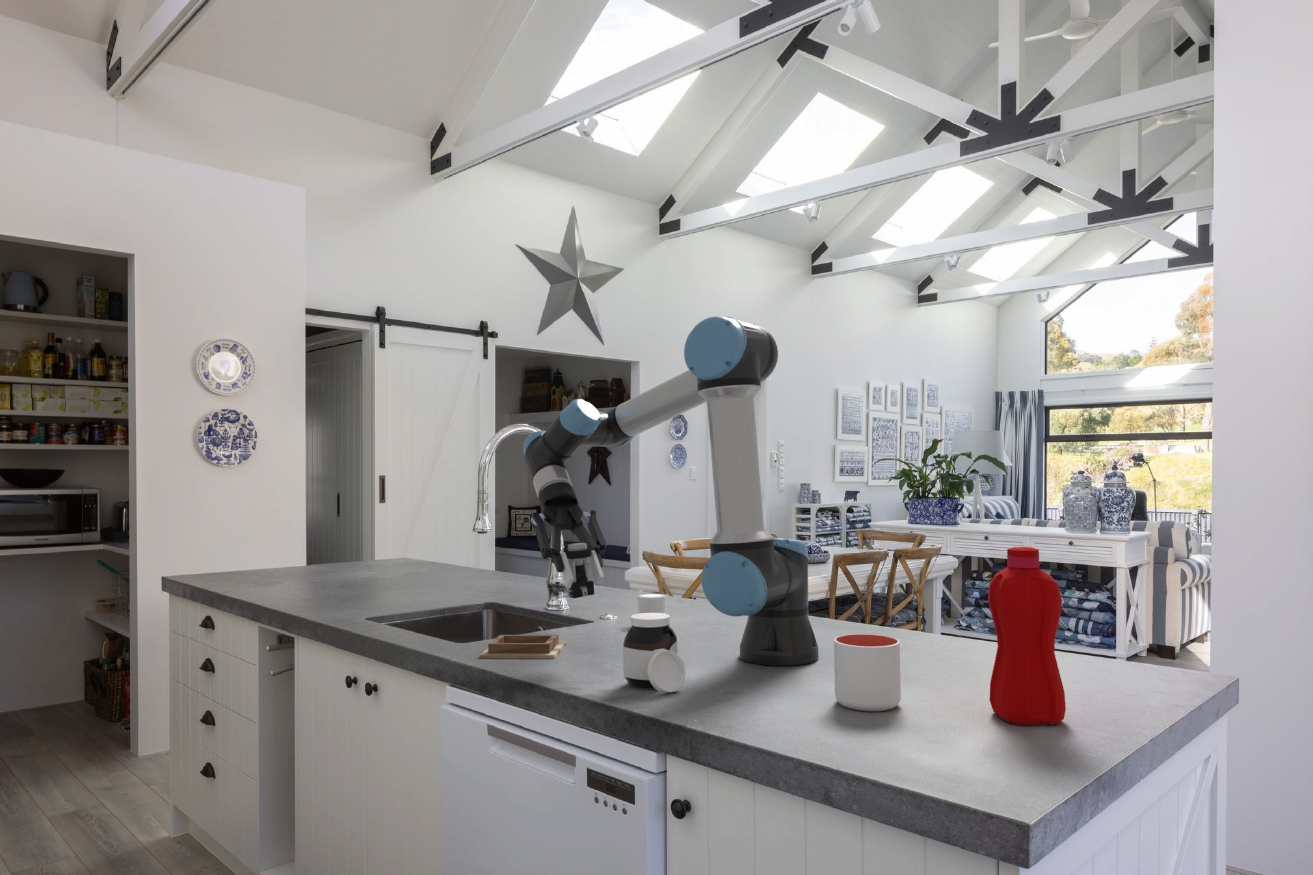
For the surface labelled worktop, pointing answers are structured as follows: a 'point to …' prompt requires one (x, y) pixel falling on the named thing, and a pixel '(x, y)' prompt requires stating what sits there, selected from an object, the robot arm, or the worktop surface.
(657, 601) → the white cylinder
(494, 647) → the socket plate
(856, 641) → the cup
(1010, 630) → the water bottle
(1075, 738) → the worktop surface
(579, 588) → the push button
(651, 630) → the spread jar
